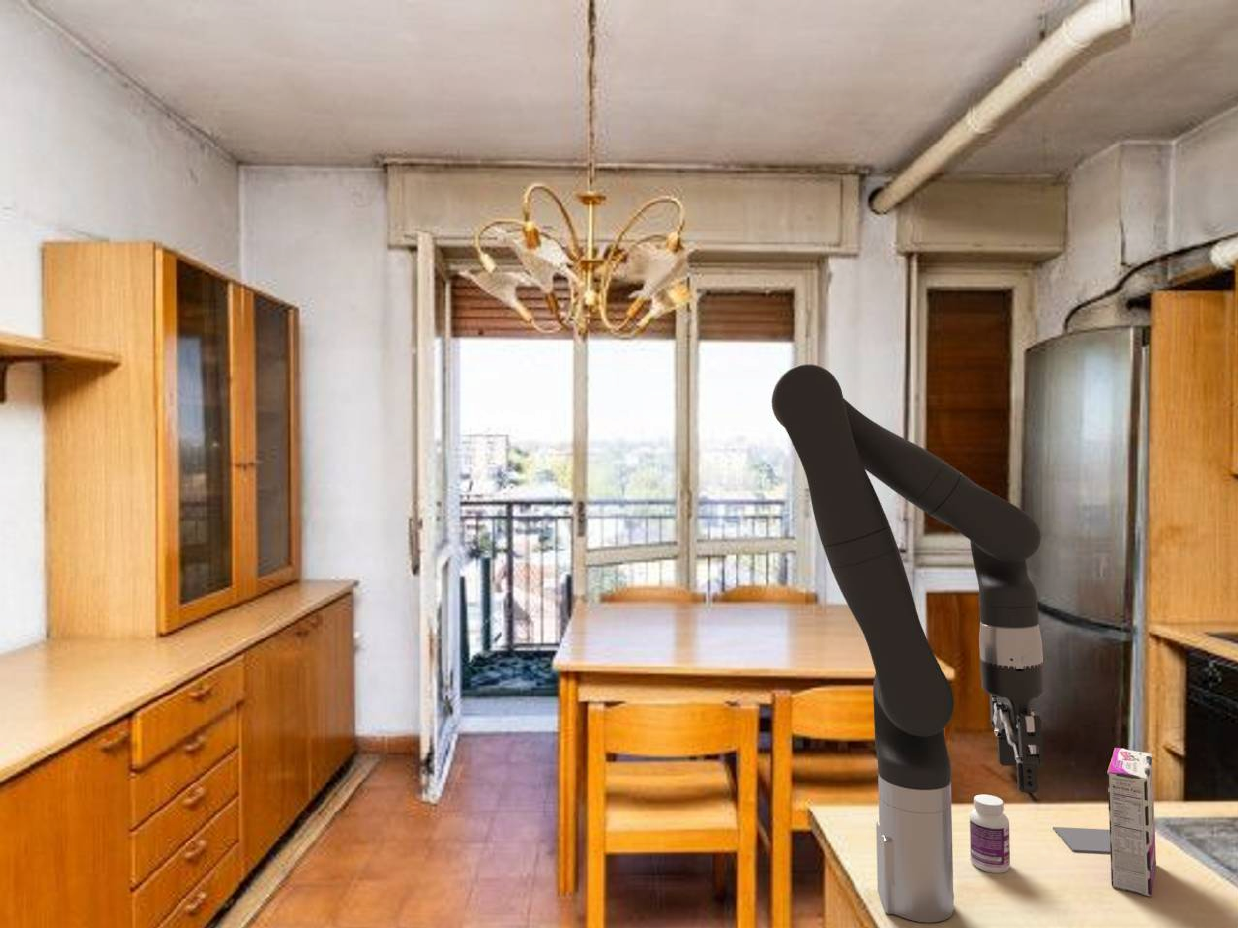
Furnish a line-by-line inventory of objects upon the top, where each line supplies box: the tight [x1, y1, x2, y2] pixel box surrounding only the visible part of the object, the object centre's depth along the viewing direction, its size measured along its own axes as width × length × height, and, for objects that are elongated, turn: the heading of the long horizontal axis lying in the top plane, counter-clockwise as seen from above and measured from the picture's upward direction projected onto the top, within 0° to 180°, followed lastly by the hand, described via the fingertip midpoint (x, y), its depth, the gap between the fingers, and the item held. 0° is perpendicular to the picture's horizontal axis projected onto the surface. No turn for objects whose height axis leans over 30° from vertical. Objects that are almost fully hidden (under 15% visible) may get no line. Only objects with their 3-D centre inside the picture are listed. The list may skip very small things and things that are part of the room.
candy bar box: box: [1106, 747, 1157, 898], centre depth 111 cm, size 11×5×16 cm, turn 143°
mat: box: [1052, 826, 1111, 854], centre depth 121 cm, size 11×8×1 cm
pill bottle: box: [969, 793, 1011, 874], centre depth 115 cm, size 5×5×10 cm
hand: (1017, 777), depth 104 cm, fingers open, 8 cm apart
